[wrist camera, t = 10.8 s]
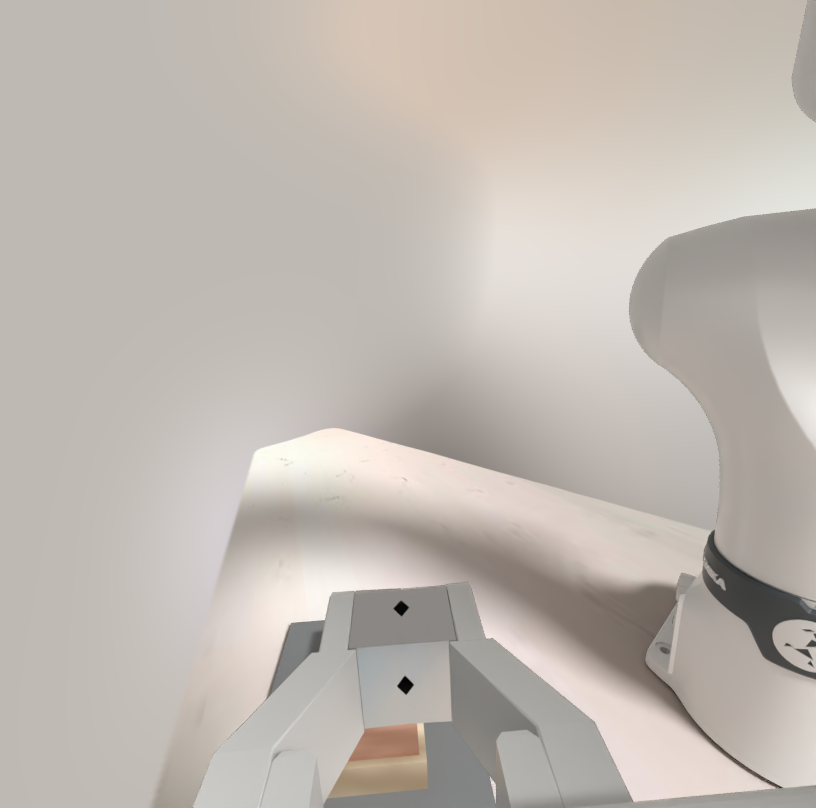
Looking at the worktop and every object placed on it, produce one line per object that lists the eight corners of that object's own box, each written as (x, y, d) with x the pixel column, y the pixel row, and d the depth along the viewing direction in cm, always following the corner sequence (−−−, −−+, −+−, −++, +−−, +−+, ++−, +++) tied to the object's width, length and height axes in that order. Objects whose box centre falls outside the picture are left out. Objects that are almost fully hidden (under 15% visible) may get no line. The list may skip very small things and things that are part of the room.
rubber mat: (508, 868, 26) (508, 863, 26) (212, 899, 25) (211, 894, 25) (452, 613, 47) (452, 610, 47) (291, 626, 47) (291, 622, 46)
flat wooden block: (426, 758, 29) (413, 614, 43) (297, 770, 29) (325, 621, 43) (428, 788, 30) (414, 637, 44) (301, 800, 30) (327, 644, 43)
